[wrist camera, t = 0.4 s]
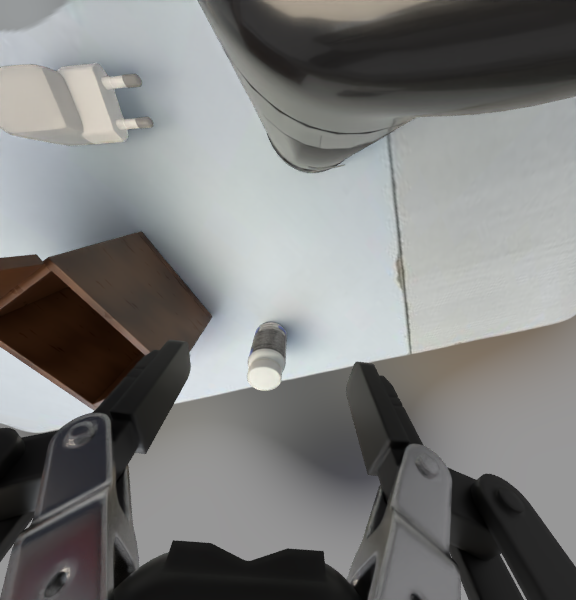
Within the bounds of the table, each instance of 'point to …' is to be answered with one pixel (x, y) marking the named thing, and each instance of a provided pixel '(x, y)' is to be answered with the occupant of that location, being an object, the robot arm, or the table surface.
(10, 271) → the lid
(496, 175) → the table surface
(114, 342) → the supply box
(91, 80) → the power adapter
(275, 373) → the pill bottle
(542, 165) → the table surface
